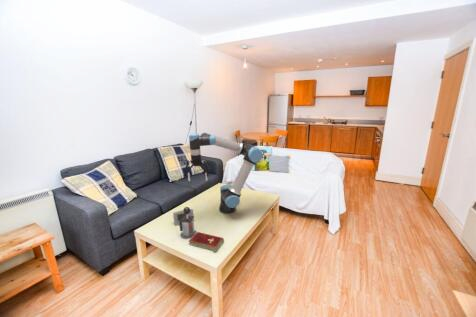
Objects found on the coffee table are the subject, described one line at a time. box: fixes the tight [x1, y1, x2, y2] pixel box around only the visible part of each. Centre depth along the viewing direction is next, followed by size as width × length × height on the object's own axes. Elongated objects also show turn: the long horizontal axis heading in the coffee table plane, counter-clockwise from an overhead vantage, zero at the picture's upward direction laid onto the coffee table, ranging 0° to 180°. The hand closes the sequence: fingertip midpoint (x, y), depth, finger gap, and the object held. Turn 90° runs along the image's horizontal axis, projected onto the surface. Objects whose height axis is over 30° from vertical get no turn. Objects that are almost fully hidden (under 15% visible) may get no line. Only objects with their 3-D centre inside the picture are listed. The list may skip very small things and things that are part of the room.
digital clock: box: [172, 208, 195, 227], centre depth 178 cm, size 16×9×11 cm, turn 101°
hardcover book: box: [188, 231, 224, 253], centre depth 152 cm, size 12×21×4 cm, turn 68°
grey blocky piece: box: [179, 216, 195, 237], centre depth 161 cm, size 10×8×13 cm
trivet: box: [180, 229, 198, 240], centre depth 162 cm, size 12×12×1 cm
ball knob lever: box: [182, 206, 191, 219], centre depth 159 cm, size 5×5×19 cm
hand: (198, 180), depth 171 cm, fingers open, 13 cm apart
